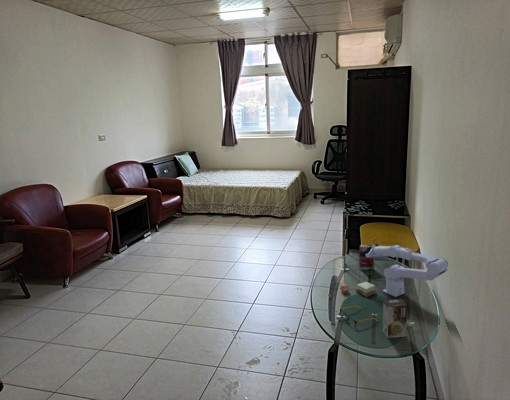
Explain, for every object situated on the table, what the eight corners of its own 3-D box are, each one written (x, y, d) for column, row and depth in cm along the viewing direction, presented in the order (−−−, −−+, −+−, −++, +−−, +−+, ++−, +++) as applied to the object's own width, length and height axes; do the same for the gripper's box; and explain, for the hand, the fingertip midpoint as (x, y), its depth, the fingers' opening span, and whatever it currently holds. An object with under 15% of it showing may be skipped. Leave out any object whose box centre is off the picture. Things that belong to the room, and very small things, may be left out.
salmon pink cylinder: (350, 292, 223) (350, 285, 222) (344, 294, 220) (344, 287, 219) (344, 289, 226) (344, 283, 225) (339, 291, 224) (339, 285, 223)
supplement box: (360, 270, 251) (360, 247, 248) (359, 267, 256) (359, 245, 253) (373, 269, 251) (374, 247, 248) (371, 266, 256) (372, 244, 252)
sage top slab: (374, 289, 220) (374, 285, 219) (366, 293, 216) (366, 289, 216) (365, 285, 226) (365, 281, 225) (357, 288, 222) (357, 284, 222)
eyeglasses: (338, 315, 199) (338, 308, 198) (361, 309, 203) (361, 302, 203) (354, 329, 186) (354, 321, 185) (378, 322, 190) (379, 314, 189)
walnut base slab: (376, 293, 220) (376, 289, 219) (366, 297, 216) (366, 293, 215) (365, 288, 227) (365, 285, 226) (355, 292, 223) (355, 288, 222)
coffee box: (400, 329, 182) (401, 298, 179) (406, 336, 176) (407, 305, 173) (382, 330, 182) (382, 299, 179) (387, 338, 176) (388, 306, 172)
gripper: (387, 240, 225) (368, 241, 236) (372, 249, 217) (354, 249, 228) (390, 251, 225) (372, 252, 236) (375, 260, 217) (357, 260, 228)
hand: (363, 251), depth 232 cm, fingers open, 7 cm apart
